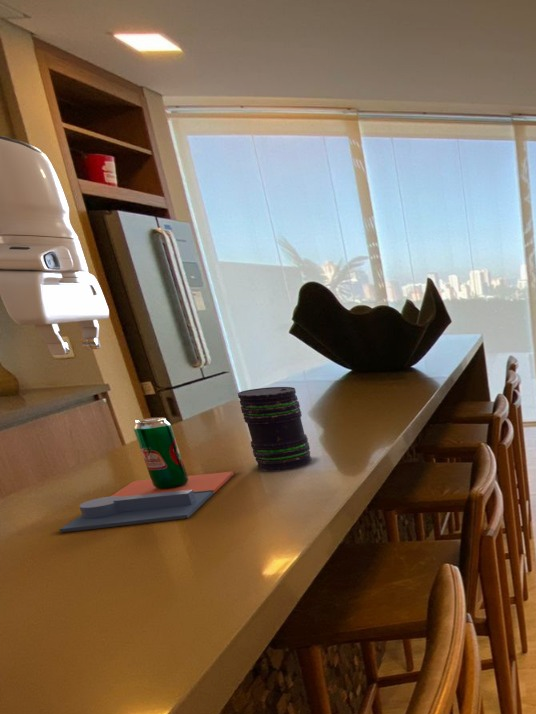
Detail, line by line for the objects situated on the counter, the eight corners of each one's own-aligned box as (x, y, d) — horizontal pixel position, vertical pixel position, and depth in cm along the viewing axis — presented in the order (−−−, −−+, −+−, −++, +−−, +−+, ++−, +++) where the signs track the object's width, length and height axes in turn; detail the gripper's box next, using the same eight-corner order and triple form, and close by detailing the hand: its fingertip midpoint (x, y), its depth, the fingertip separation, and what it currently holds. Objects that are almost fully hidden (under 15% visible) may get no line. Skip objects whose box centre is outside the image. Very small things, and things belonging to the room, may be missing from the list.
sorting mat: (60, 532, 84) (58, 528, 84) (134, 484, 105) (133, 480, 105) (188, 518, 89) (186, 514, 88) (234, 474, 110) (233, 470, 109)
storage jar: (261, 474, 109) (239, 397, 104) (253, 463, 116) (233, 390, 111) (317, 464, 115) (300, 391, 109) (307, 454, 122) (291, 385, 116)
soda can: (147, 489, 100) (123, 422, 96) (174, 480, 105) (153, 416, 100) (169, 491, 99) (146, 423, 95) (196, 482, 104) (175, 417, 99)
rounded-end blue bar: (76, 520, 87) (71, 508, 86) (93, 508, 91) (89, 497, 91) (188, 508, 91) (184, 496, 90) (199, 497, 96) (196, 486, 95)
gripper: (59, 261, 95) (87, 346, 100) (-27, 254, 77) (12, 358, 82) (105, 262, 97) (131, 345, 102) (32, 256, 79) (67, 357, 84)
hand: (77, 351), depth 92 cm, fingers open, 8 cm apart
